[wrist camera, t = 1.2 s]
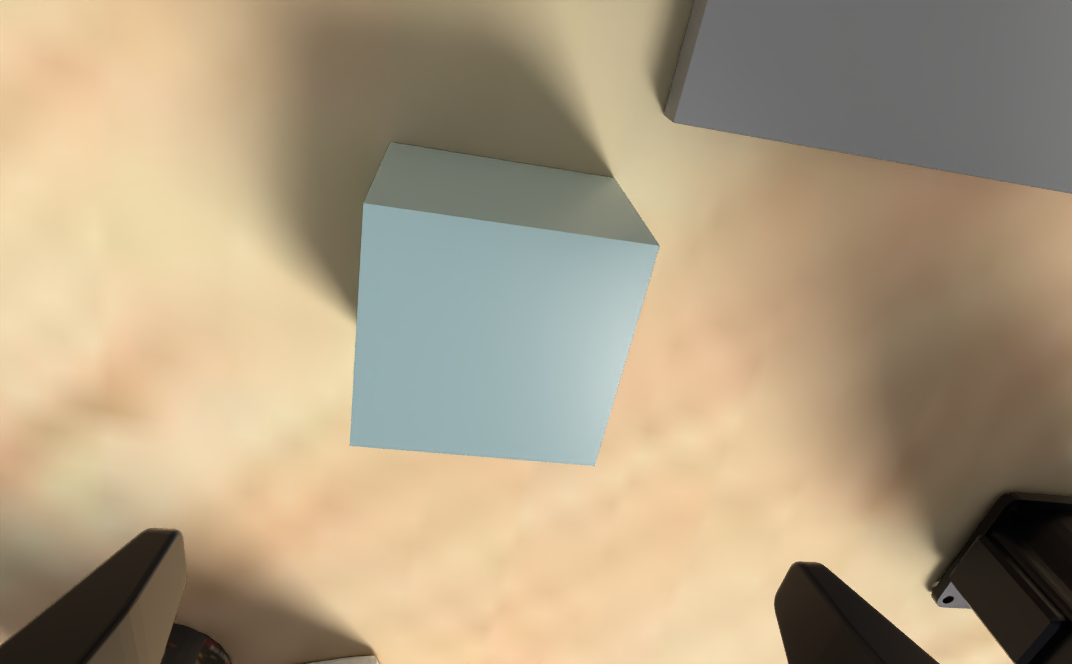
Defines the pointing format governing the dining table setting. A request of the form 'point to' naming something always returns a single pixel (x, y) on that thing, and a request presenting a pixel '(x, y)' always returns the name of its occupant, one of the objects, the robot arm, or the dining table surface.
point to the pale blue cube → (493, 306)
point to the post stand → (889, 81)
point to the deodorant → (192, 648)
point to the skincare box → (351, 660)
